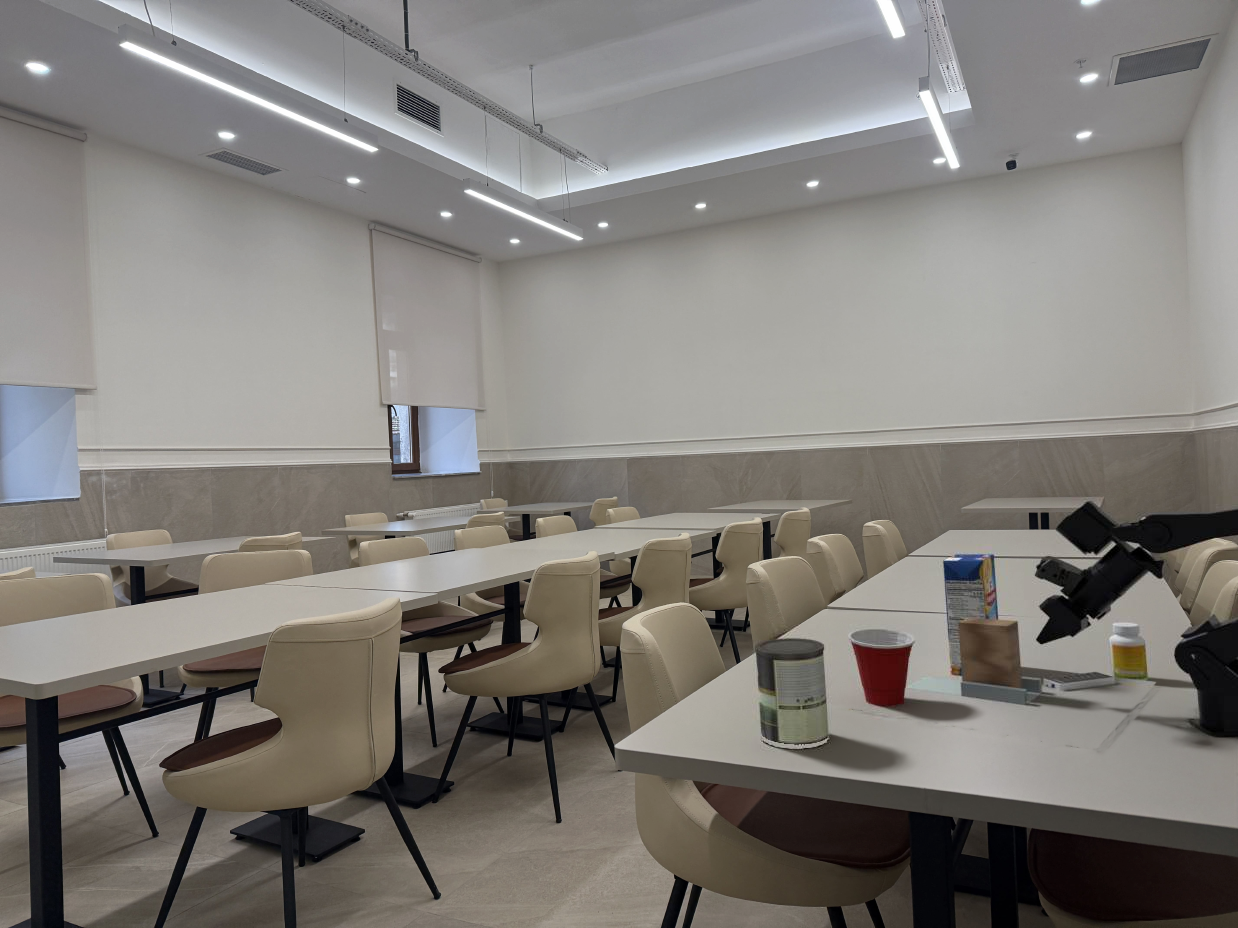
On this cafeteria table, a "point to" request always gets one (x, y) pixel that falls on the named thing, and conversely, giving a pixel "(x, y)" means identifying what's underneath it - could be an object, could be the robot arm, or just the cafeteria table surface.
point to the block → (990, 652)
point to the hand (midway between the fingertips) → (1038, 641)
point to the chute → (982, 689)
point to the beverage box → (968, 596)
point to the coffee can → (792, 690)
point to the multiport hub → (1079, 681)
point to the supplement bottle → (1128, 652)
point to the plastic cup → (882, 663)
